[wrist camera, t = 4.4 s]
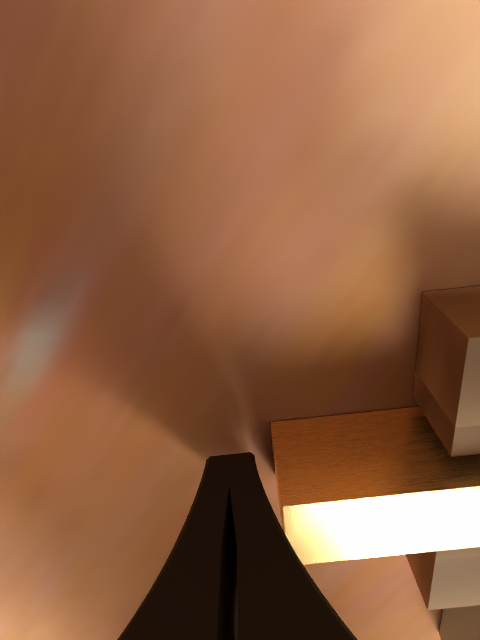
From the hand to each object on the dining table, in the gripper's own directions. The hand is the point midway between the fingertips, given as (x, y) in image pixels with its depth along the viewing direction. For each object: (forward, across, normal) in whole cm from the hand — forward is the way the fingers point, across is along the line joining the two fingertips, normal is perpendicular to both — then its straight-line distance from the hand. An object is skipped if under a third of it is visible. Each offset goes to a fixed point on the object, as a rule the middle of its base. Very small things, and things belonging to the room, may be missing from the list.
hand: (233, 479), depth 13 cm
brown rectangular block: (+1, -5, 0) cm, 5 cm away
